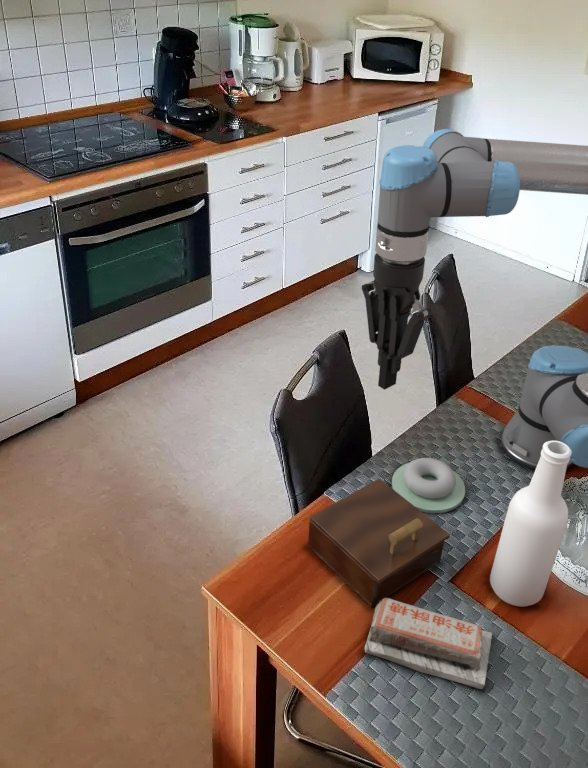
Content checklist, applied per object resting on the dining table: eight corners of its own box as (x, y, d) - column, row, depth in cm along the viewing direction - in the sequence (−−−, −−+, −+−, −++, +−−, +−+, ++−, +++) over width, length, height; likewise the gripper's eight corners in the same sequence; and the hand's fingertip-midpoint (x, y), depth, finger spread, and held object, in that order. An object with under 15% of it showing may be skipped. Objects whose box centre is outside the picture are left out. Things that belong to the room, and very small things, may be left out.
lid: (449, 537, 122) (454, 516, 120) (378, 583, 114) (381, 561, 111) (379, 481, 133) (381, 460, 130) (309, 519, 125) (310, 498, 122)
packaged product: (365, 634, 108) (381, 584, 116) (362, 654, 111) (378, 604, 119) (489, 672, 104) (497, 617, 112) (483, 692, 107) (491, 637, 114)
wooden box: (440, 562, 127) (445, 534, 123) (371, 608, 118) (375, 580, 115) (375, 508, 137) (379, 481, 133) (307, 547, 129) (309, 519, 125)
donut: (463, 483, 143) (419, 460, 148) (466, 469, 141) (421, 446, 146) (437, 510, 136) (392, 485, 141) (440, 497, 134) (394, 472, 139)
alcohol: (549, 581, 124) (596, 442, 107) (533, 617, 118) (580, 476, 101) (499, 559, 128) (536, 421, 111) (481, 593, 121) (517, 453, 104)
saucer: (473, 478, 145) (474, 475, 144) (451, 523, 134) (452, 520, 134) (406, 455, 150) (407, 452, 149) (380, 496, 140) (380, 493, 139)
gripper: (351, 246, 112) (343, 375, 125) (415, 277, 104) (399, 411, 117) (386, 234, 116) (375, 360, 129) (450, 262, 108) (431, 394, 121)
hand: (387, 384), depth 123 cm, fingers closed
